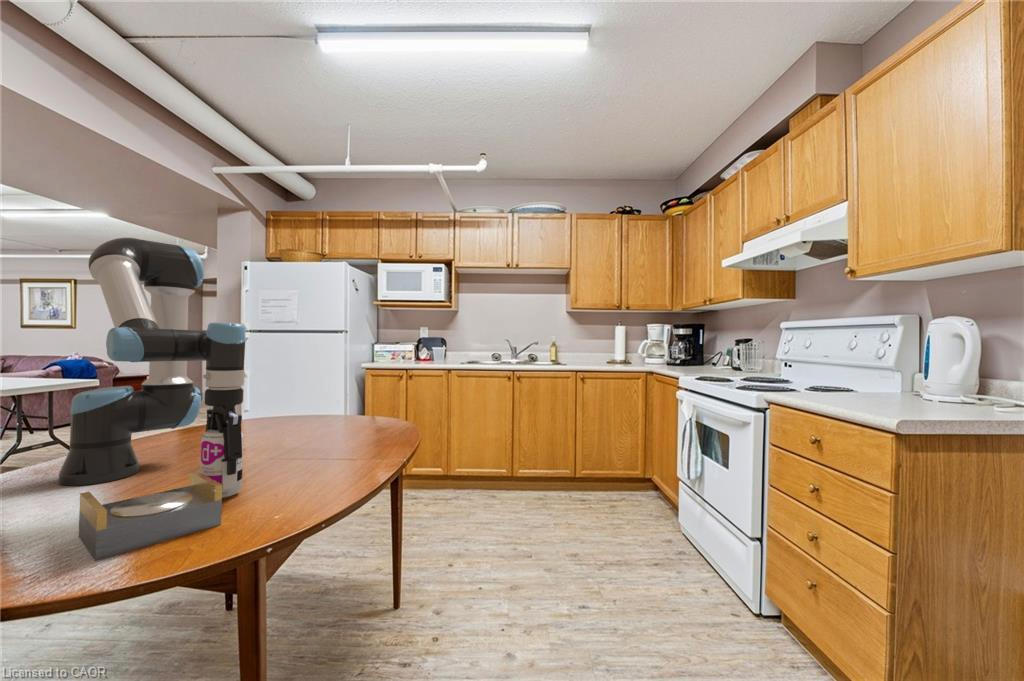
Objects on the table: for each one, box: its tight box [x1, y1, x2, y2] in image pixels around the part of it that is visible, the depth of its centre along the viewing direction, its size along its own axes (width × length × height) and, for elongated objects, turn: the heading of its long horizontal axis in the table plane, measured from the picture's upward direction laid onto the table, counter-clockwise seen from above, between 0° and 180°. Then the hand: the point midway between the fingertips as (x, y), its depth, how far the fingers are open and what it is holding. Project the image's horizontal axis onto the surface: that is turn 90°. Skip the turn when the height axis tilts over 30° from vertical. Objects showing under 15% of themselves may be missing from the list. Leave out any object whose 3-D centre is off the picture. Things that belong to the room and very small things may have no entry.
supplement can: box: [199, 429, 244, 499], centre depth 98 cm, size 8×8×15 cm
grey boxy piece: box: [78, 470, 223, 562], centre depth 80 cm, size 14×18×8 cm
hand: (221, 483), depth 98 cm, fingers closed on supplement can, 8 cm apart
